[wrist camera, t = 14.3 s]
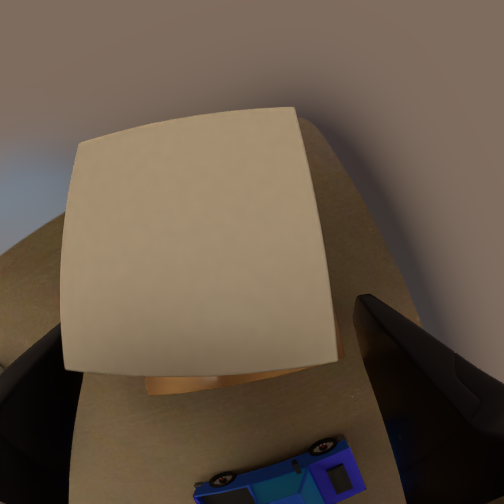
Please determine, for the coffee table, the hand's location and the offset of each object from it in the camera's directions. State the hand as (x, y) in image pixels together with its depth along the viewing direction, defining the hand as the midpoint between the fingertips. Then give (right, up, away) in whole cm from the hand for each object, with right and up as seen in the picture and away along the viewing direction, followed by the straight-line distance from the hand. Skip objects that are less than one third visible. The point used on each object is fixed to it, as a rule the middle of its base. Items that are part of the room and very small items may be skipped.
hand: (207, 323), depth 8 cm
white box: (0, +1, +5) cm, 5 cm away
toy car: (+4, -16, +9) cm, 19 cm away
